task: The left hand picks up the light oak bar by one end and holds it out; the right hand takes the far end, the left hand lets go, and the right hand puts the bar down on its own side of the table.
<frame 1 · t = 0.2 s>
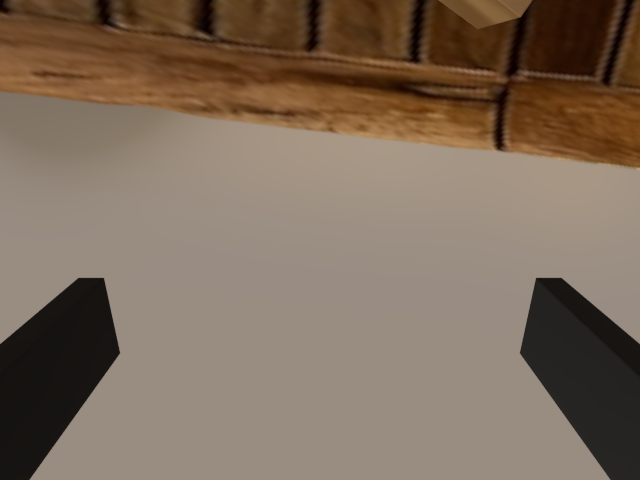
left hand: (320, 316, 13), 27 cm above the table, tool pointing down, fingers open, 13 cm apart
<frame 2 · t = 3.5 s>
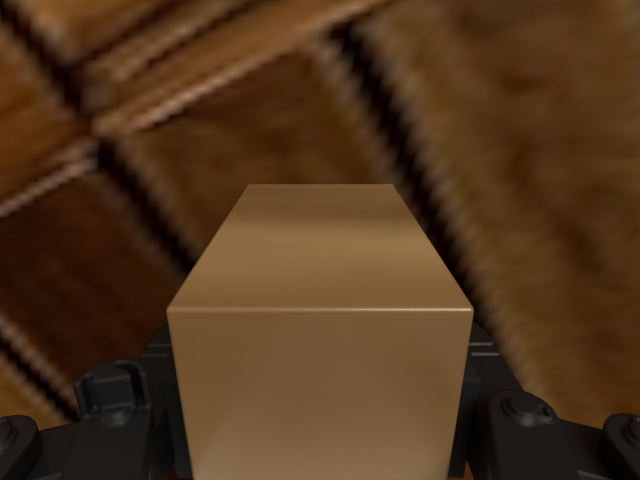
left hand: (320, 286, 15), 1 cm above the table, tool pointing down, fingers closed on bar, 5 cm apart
bar: (320, 447, 18), on the table, touching left hand
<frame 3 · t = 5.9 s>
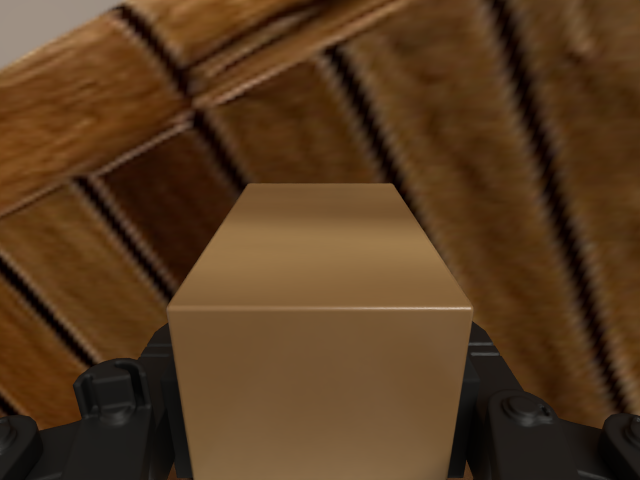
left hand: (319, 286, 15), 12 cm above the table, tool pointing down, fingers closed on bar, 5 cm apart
bar: (320, 447, 18), point 11 cm above the table, touching left hand
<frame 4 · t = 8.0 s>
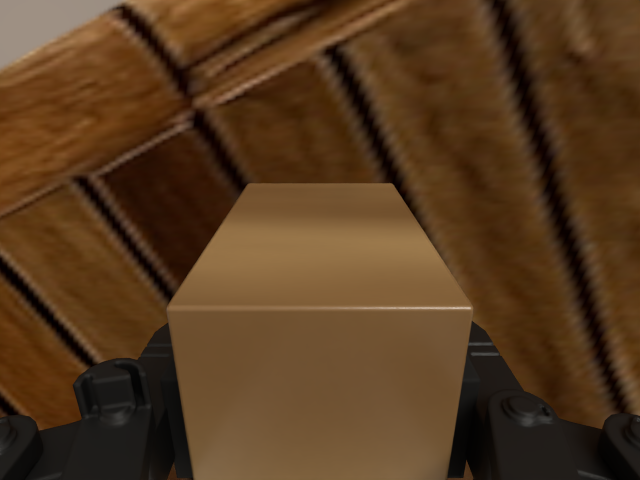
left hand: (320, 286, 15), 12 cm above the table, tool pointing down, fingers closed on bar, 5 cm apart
bar: (320, 446, 18), point 11 cm above the table, touching left hand, right hand
when the left hand's fingers open (12 cm above the table, at t = 8.6 s): bar stays where it is, held by the right hand.
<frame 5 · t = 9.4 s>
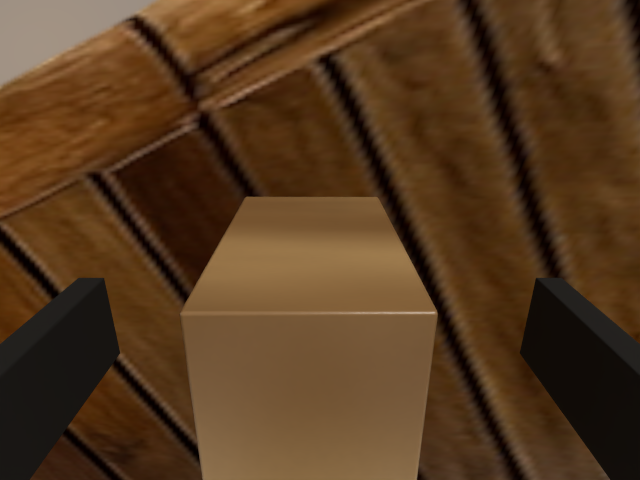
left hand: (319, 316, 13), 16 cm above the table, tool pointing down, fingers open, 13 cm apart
bar: (312, 440, 20), point 13 cm above the table, touching right hand
when the right hand's fingers open (2 cm above the table, at t = 13.1 s): bar drops 1 cm, on the table.
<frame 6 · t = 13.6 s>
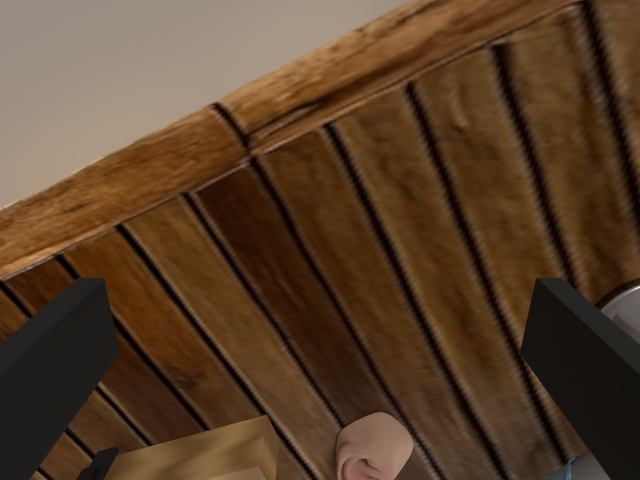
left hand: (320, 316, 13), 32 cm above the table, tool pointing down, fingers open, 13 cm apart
anatomical model: (371, 449, 58), on the table
bar: (194, 448, 58), on the table
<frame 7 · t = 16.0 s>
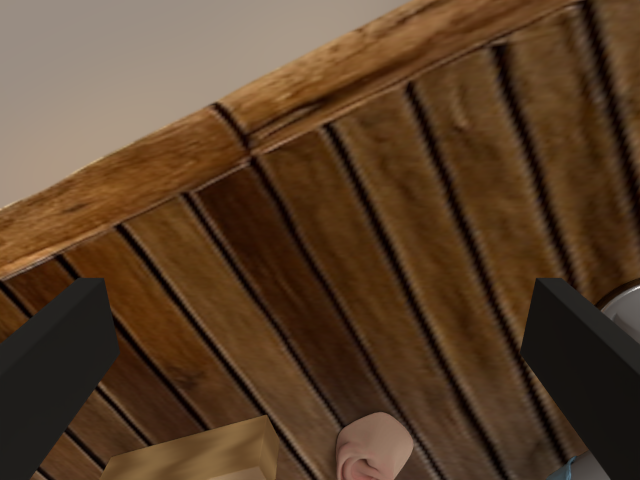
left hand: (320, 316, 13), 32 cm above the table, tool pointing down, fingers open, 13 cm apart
anatomical model: (371, 449, 58), on the table
bar: (194, 448, 58), on the table
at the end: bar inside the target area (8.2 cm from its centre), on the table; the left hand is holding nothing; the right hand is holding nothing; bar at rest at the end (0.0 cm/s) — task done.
